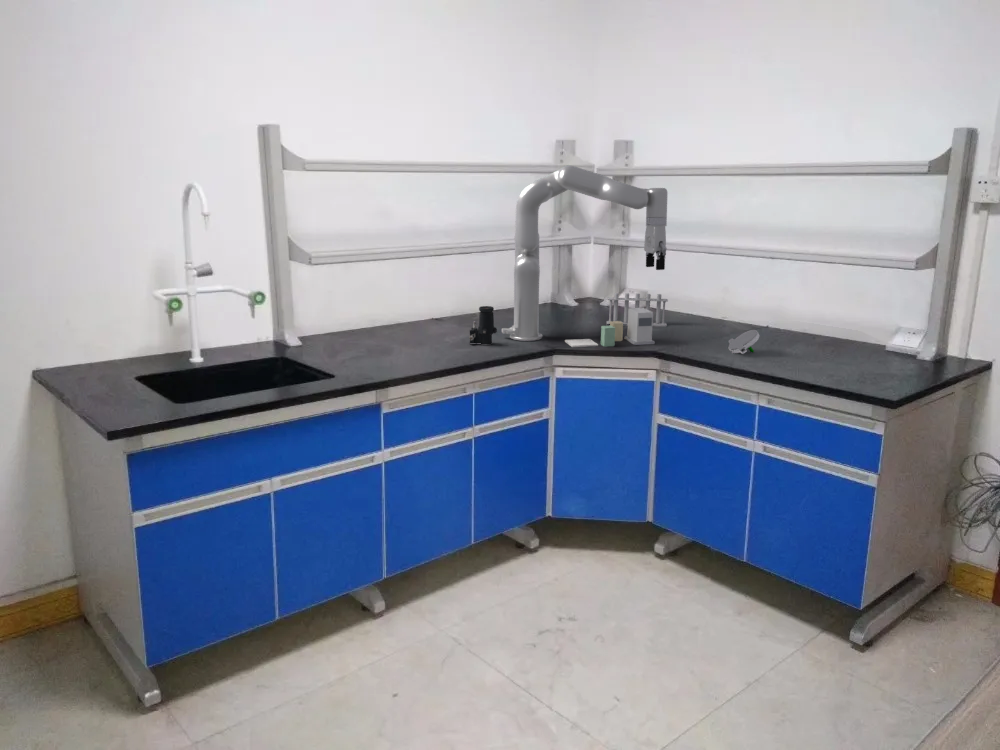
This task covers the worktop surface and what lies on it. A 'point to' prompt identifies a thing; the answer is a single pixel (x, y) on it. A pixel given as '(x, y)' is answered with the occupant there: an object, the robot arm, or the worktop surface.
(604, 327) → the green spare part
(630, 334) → the bench unit
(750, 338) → the grey tilted oval device
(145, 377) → the worktop surface
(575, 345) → the mat
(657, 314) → the test tube rack
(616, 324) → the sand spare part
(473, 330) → the scope
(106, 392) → the worktop surface
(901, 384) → the worktop surface
